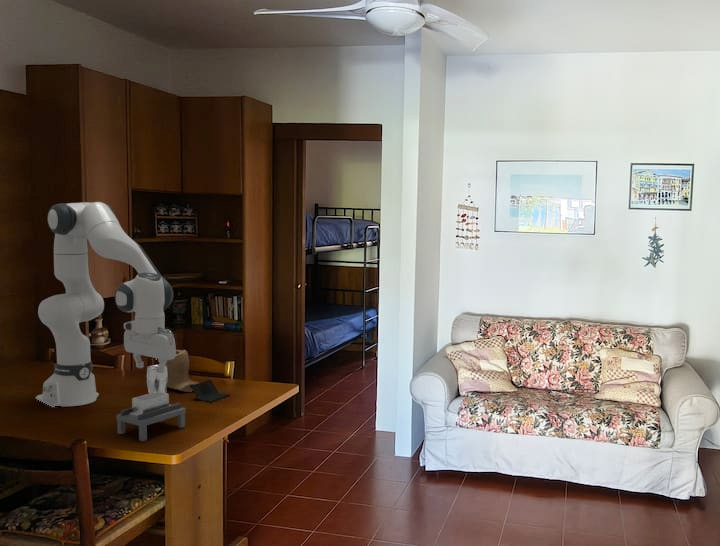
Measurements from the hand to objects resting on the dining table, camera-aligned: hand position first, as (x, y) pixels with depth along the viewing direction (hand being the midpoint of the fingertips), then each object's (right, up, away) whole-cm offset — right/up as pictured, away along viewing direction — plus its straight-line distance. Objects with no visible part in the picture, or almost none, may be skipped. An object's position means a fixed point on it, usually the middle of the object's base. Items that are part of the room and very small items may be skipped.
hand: (149, 370), depth 217 cm
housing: (0, -13, +1) cm, 13 cm away
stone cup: (-3, -15, +51) cm, 53 cm away
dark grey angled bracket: (+11, -16, +39) cm, 44 cm away
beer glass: (-4, -17, +24) cm, 30 cm away
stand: (0, -19, +2) cm, 19 cm away
